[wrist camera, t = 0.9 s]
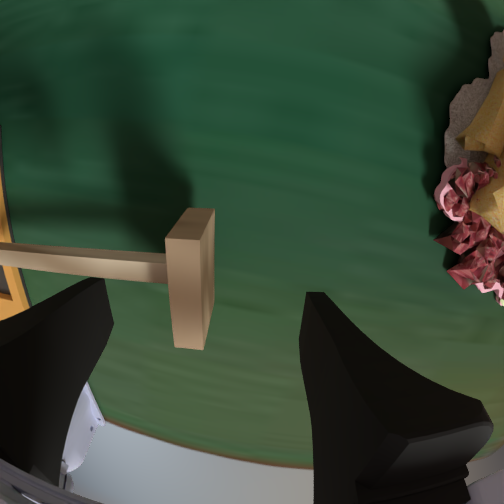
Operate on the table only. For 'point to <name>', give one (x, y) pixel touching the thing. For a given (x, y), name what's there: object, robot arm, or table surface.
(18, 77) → the table surface
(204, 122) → the table surface
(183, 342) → the sled
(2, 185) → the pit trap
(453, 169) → the candy landscape model
